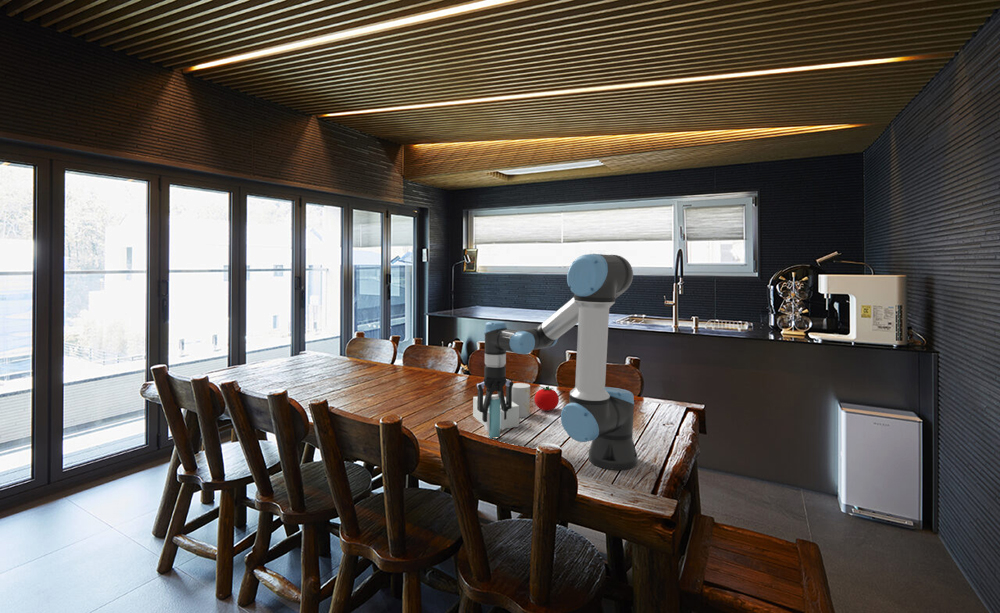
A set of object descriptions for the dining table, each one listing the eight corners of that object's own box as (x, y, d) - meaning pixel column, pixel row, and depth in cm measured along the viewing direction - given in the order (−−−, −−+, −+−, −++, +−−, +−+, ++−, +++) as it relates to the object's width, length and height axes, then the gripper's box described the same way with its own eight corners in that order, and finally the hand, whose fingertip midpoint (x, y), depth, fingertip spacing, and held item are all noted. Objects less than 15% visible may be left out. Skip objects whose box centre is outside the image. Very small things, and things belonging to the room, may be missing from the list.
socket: (518, 426, 186) (519, 405, 186) (489, 430, 182) (489, 409, 181) (500, 412, 203) (500, 394, 202) (473, 416, 198) (473, 396, 198)
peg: (501, 438, 174) (502, 397, 173) (491, 439, 172) (491, 398, 171) (497, 434, 178) (497, 394, 176) (486, 435, 176) (487, 395, 175)
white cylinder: (528, 417, 197) (528, 388, 196) (508, 416, 199) (508, 387, 198) (530, 411, 205) (531, 383, 204) (511, 410, 207) (512, 382, 206)
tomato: (531, 412, 205) (531, 388, 204) (537, 405, 214) (537, 383, 214) (556, 414, 201) (556, 391, 201) (560, 407, 211) (561, 385, 210)
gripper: (513, 361, 180) (512, 423, 182) (467, 364, 173) (467, 429, 175) (522, 365, 173) (521, 429, 175) (474, 369, 166) (474, 436, 168)
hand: (494, 429), depth 175 cm, fingers open, 5 cm apart
